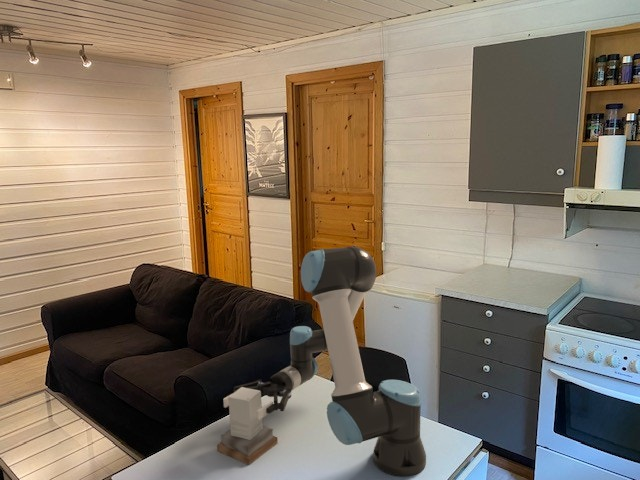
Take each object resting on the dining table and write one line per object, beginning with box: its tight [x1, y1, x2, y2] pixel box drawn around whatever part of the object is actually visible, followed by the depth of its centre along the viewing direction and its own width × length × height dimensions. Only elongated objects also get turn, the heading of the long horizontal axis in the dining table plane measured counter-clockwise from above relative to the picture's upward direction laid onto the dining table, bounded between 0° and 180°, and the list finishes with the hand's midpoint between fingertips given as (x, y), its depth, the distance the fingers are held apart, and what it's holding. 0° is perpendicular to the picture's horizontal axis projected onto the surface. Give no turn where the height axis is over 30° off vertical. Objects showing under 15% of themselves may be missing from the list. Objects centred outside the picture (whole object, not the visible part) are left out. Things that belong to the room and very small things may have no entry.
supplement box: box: [228, 387, 264, 440], centre depth 147 cm, size 7×7×13 cm
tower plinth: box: [216, 425, 278, 466], centre depth 149 cm, size 13×13×5 cm
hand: (240, 409), depth 145 cm, fingers open, 13 cm apart
